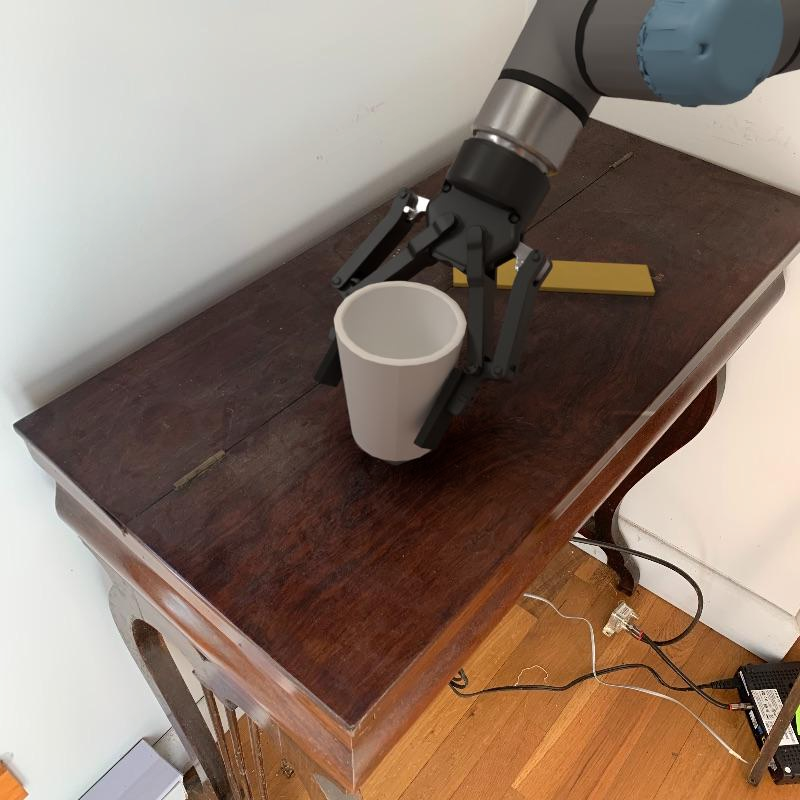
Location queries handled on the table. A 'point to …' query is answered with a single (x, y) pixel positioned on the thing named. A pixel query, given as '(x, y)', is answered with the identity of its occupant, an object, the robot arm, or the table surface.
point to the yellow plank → (579, 278)
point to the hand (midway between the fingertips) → (372, 413)
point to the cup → (396, 362)
